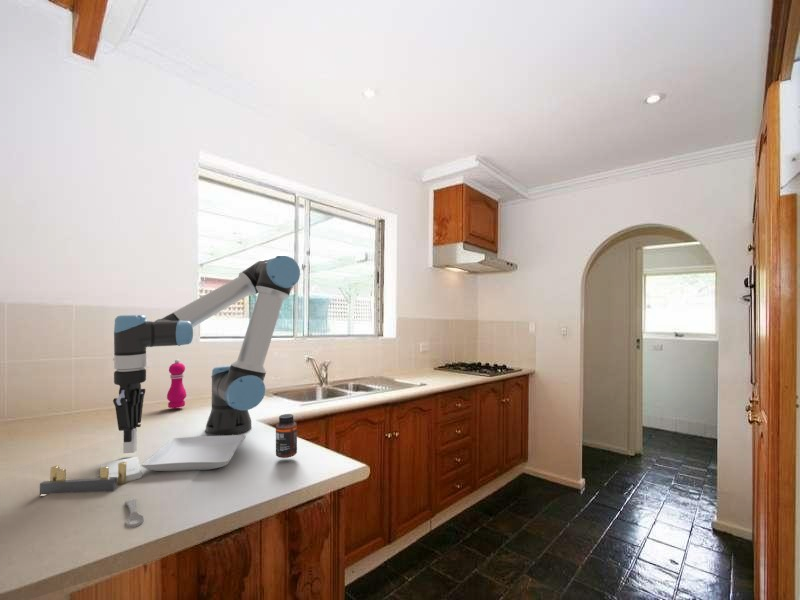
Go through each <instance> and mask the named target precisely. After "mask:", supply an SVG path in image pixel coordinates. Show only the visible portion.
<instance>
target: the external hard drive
mask: <svg viewBox="0 0 800 600" xmlns="http://www.w3.org/2000/svg"><path fill="white" fill-rule="evenodd" d="M139 461H140V460H139V457H138V456H134V457H129V458H123V459H117V460H113V461H107V462H103V463H101V464H100V465H99V469H100V468H102V467H105V466H108V467H109V477H117V484H118V464H119V463H121V462H126V482H130V481H135V480H139V479H142V477H143V471H142V468H141V464H140V462H139Z"/></svg>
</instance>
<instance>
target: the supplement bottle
mask: <svg viewBox="0 0 800 600" xmlns="http://www.w3.org/2000/svg"><path fill="white" fill-rule="evenodd" d="M297 428H298V425H297V422H296V421H294V414H292V413H285V414H281V415H279V417H278V423H276V425H275V455H276V458H282V459H285V458H291V457H294V456H296V454H297V453H298V429H297Z"/></svg>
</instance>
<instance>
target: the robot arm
mask: <svg viewBox="0 0 800 600" xmlns="http://www.w3.org/2000/svg"><path fill="white" fill-rule="evenodd" d="M300 277H301V269H300V267H299V265H298V262H297V261H296V260H295V259H294V258H293V257H291V256H290V255H286V254H274V255H271V256H269V257H264V258H261V259H260V260H258V261H256V262H255V263H254V264H252V265H251V266H249V267H248V268H246V269H244V270H242V271H240V272H239V273H238V276H237V277H235V278H234V279H232V280H230V281H228V282H226V283H225V284H222V285H220V286H219V287H217V288H215V289H214V290H212V291H210V292H208V293H206V294H204V295H203V296H200V297H199V298H197V299H195V300H193V301H192V302H190V303H188V304H186V305H184V306H182V307H180V308H179V309H177V310H174V311H173V312H172V313H170V314H168V315H166V316H163V317H162V318H158V319H156V320H154V321H150V320H149V321H148V319H147V316H146V315H143V314H129V315H128V314H124V315H123V314H122V315H118V316H116V317H115V318H114V327H113V329H114V330H113V350H114V351H113V355H114V356H113V357H114V358H113V359H112V360H113V363H114V364H113V369H114V370H115V371H114V372H113V383H114V385H117V386H119V389H118V397H117V398H116V397H115V398H113V400H112V402H113V405H114V407H115V414H116V415H115V416H116V420H117V421H116V422H117V427H118V428H117V429H118V431H119V432H121V431H123V433H122V435H123V438H122V440H123V444H122V445H123V446H122V448H123V449H122V450H123V452H122V453H123V454H129V453H130V454H131V453H135V452H137V444H138V443H137V440H138V439H137V438H138V435H137V433H138V432H137V431H138V430H137V428H141V425H142V424H141V422H142V418H143V417H142V415H143V405H144V399H145V395H146V394H145V393H146V388H142V385H141V384H142V383H144V382H146V380H147V369H146V368H145V367H147V348H153V347H155V348H156V347H172V346H178V347H181V346H186V345H190V344H191V343H192V342H193V339H194V338H193V337H194V329H193V328H194V327H196V326H198V325H199V324H201V323H203V322H204V321H206V320H208V319H210V318H211V317H213V316H215V315H217V314H218V313H220V312H222V311H224V310H225V309H226V308H228V307H230V306H233V305H234V304H235V303H238V302H240V301H241V300H243V299H245V298H247V297H248V296H250V295H252V296H255V295H257V297H256V301H255V303H254V307H253V310H252V313H251V316H250V320H249V322H248V326H247V328H246V332H245V335H244V339H243V342H242V344H241V348H240V350H239V354H238V357H237V360H235V361H233V363H231V364H230V365H226V366H225V365H224V366H216V367H213V369H212V370H211V411H210V413H209V416H208V418H207V422H206V425H205V432H206V434H208V435H211V436H227V435H232V434H234V435H239V434H241V433H245V432H247V431H250V429H252V418H251V415H250V412H249V410H252V409H254V408H256V407H257V406H258V405H260V403H261V402H262V401H263V399H264V397H265V395H266V385H265V382H264V381H265V377H266V374H267V371H266V369H265V367H264V364H265V362H266V358H267V354H268V351H269V348H270V345H271V341H272V338H273V335H274V331H275V328H276V325H277V322H278V319H279V315H280V311H281V308H282V305H283V302H284V300H285V299H287V298H289V297H290V293H291V290H292V287H294V286H295V285H296V284H297V283H298V282H299V280H300ZM238 433H239V434H238Z"/></svg>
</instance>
